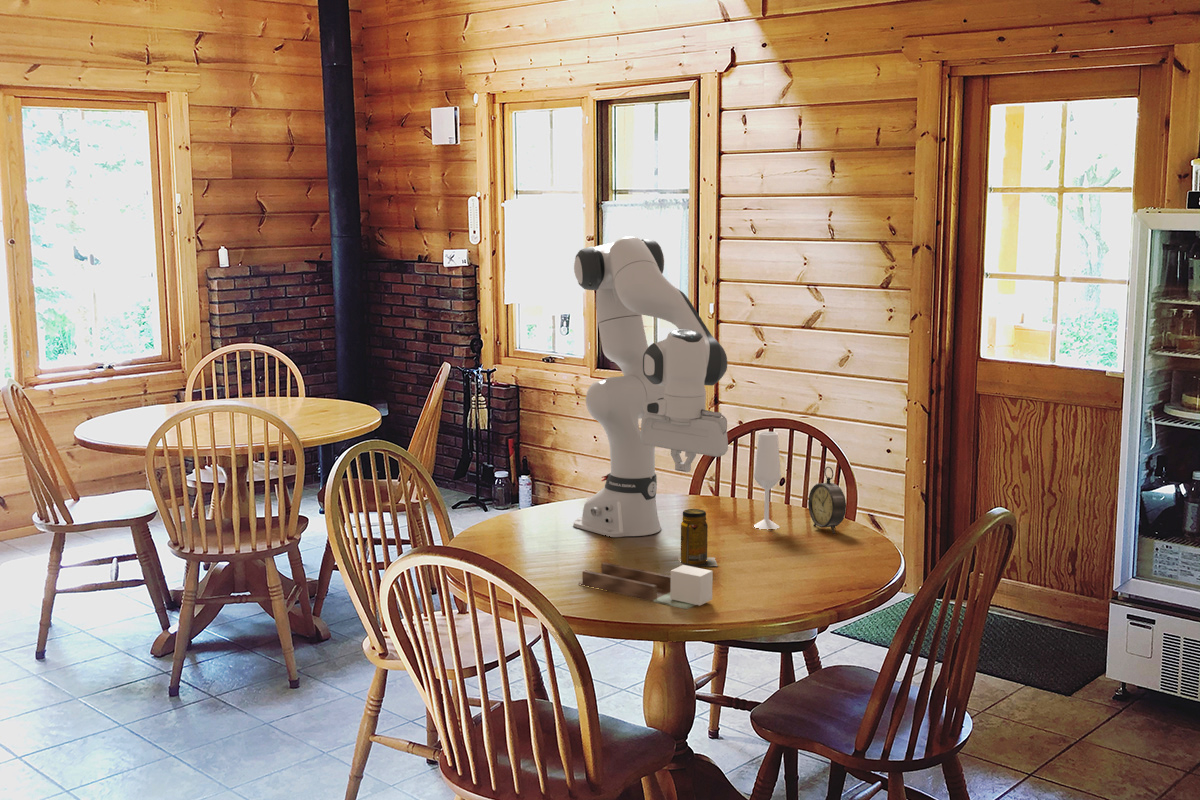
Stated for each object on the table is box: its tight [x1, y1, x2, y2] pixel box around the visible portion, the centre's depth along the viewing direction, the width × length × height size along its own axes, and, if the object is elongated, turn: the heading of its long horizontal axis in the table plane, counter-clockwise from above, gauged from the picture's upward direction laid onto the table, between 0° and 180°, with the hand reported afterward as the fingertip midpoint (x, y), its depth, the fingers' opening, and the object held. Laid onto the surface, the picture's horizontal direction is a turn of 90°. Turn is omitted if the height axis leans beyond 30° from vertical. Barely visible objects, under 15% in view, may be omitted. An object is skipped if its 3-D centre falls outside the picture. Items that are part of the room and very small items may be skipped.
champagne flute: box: [753, 431, 782, 531], centre depth 296 cm, size 7×7×24 cm
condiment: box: [677, 508, 719, 568], centre depth 266 cm, size 7×8×12 cm
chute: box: [578, 561, 696, 610], centre depth 246 cm, size 27×8×3 cm, turn 54°
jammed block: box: [670, 565, 713, 606], centre depth 239 cm, size 7×5×6 cm
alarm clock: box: [807, 466, 847, 535], centre depth 293 cm, size 11×5×16 cm, turn 23°
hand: (682, 470), depth 251 cm, fingers closed
